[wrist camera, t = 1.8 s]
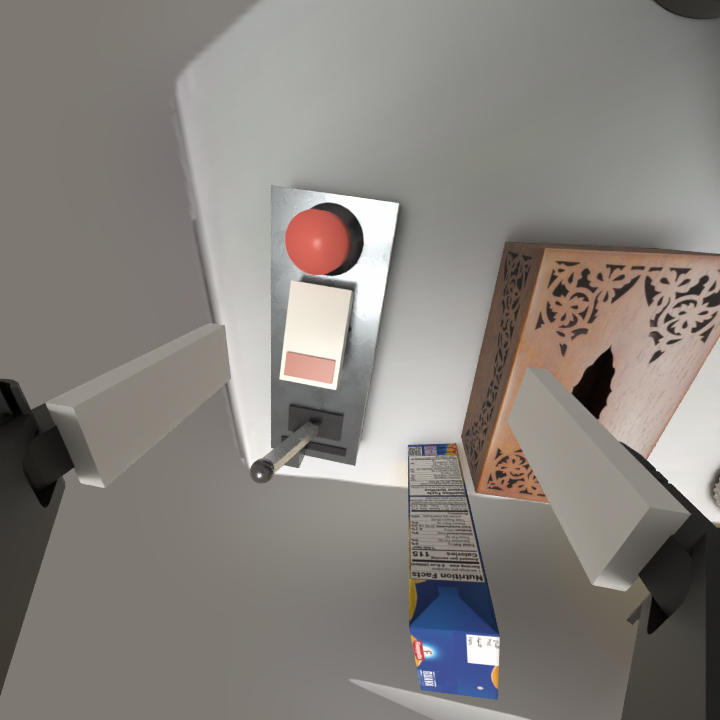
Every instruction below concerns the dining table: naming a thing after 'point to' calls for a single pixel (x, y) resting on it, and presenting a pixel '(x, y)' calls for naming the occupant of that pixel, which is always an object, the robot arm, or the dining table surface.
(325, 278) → the console
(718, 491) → the sea urchin shell
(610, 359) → the tissue box cover
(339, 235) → the button
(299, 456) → the slider
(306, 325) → the plate
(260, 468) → the toggle
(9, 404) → the robot arm
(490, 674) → the beverage box
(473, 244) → the dining table surface
